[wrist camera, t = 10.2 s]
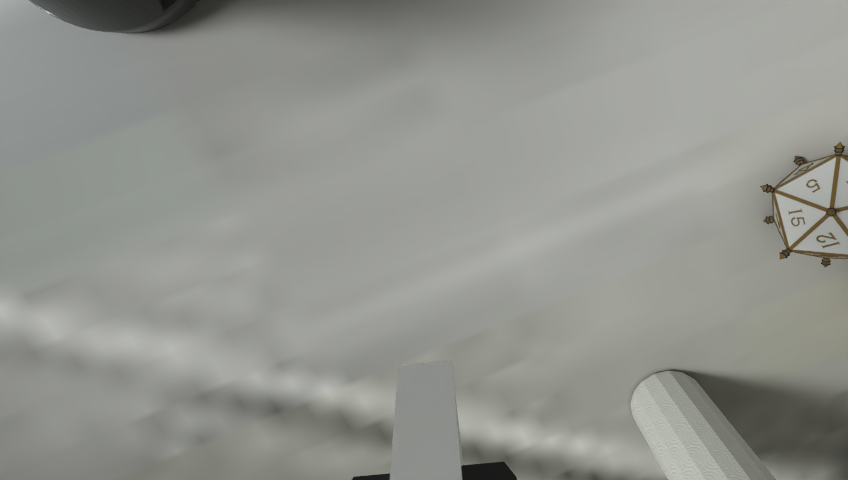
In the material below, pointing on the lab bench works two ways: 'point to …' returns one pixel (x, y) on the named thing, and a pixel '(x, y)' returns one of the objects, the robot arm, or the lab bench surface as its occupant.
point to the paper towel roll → (691, 432)
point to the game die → (813, 208)
